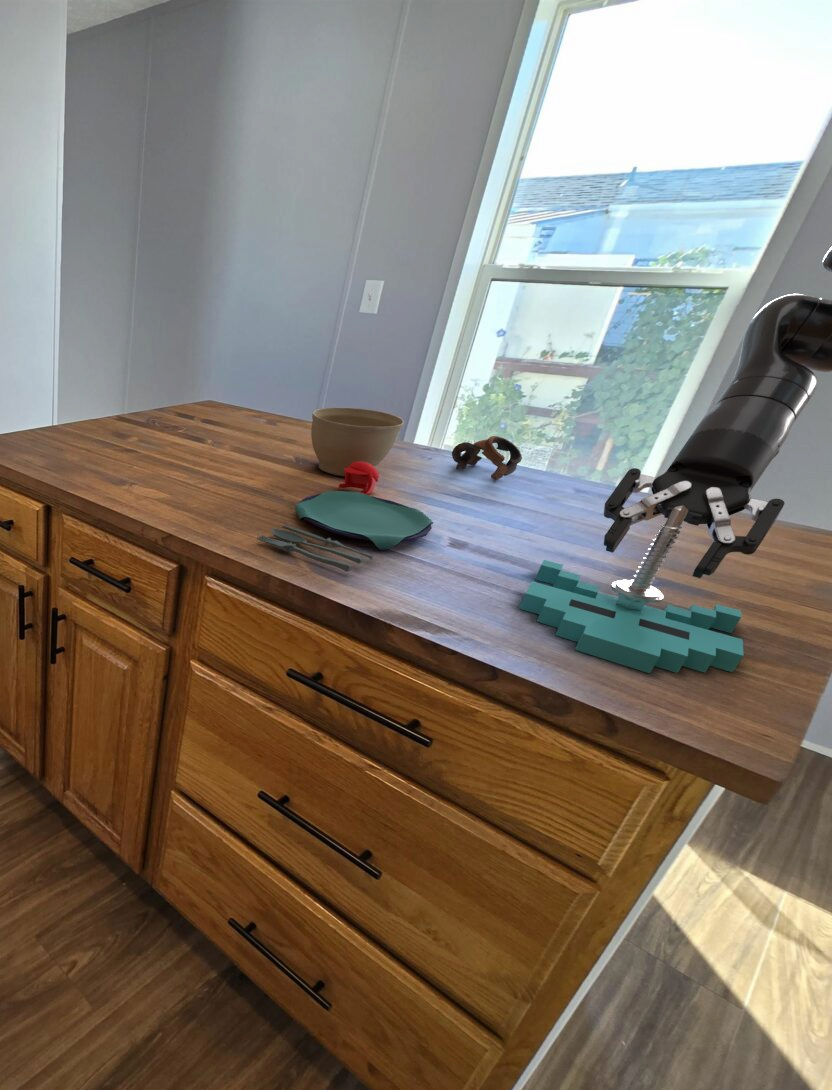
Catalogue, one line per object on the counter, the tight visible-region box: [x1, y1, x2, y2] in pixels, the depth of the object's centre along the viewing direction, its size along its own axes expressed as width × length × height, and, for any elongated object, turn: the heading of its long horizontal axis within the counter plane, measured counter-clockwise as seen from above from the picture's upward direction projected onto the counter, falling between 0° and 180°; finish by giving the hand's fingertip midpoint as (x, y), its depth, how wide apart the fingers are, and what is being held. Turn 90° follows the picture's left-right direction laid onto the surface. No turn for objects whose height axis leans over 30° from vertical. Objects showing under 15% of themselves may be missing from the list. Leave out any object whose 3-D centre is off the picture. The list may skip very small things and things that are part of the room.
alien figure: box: [518, 559, 745, 674], centre depth 79 cm, size 20×2×20 cm
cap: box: [338, 461, 380, 496], centre depth 118 cm, size 8×6×6 cm
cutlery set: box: [256, 490, 434, 573], centre depth 103 cm, size 20×30×2 cm, turn 130°
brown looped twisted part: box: [451, 435, 523, 481], centre depth 129 cm, size 12×10×8 cm
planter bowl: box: [310, 406, 405, 477], centre depth 128 cm, size 16×16×11 cm
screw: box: [610, 506, 688, 611], centre depth 77 cm, size 13×5×5 cm
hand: (652, 561), depth 76 cm, fingers open, 7 cm apart
